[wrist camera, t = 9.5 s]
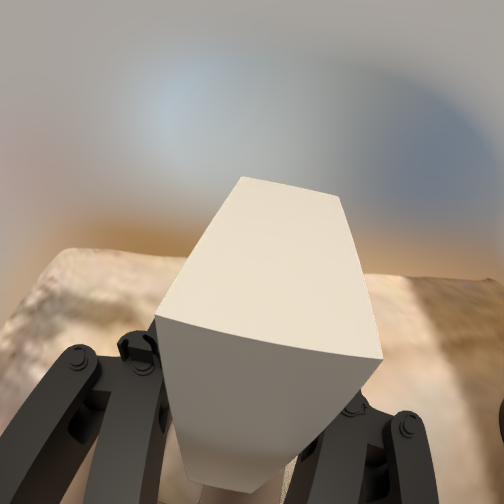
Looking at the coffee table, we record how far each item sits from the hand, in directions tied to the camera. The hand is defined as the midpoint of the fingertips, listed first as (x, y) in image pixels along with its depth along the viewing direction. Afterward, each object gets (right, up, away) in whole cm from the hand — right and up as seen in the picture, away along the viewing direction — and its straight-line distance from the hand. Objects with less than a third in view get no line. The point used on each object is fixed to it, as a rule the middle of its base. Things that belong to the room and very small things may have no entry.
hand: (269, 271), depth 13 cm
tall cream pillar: (-2, -9, -1) cm, 9 cm away
